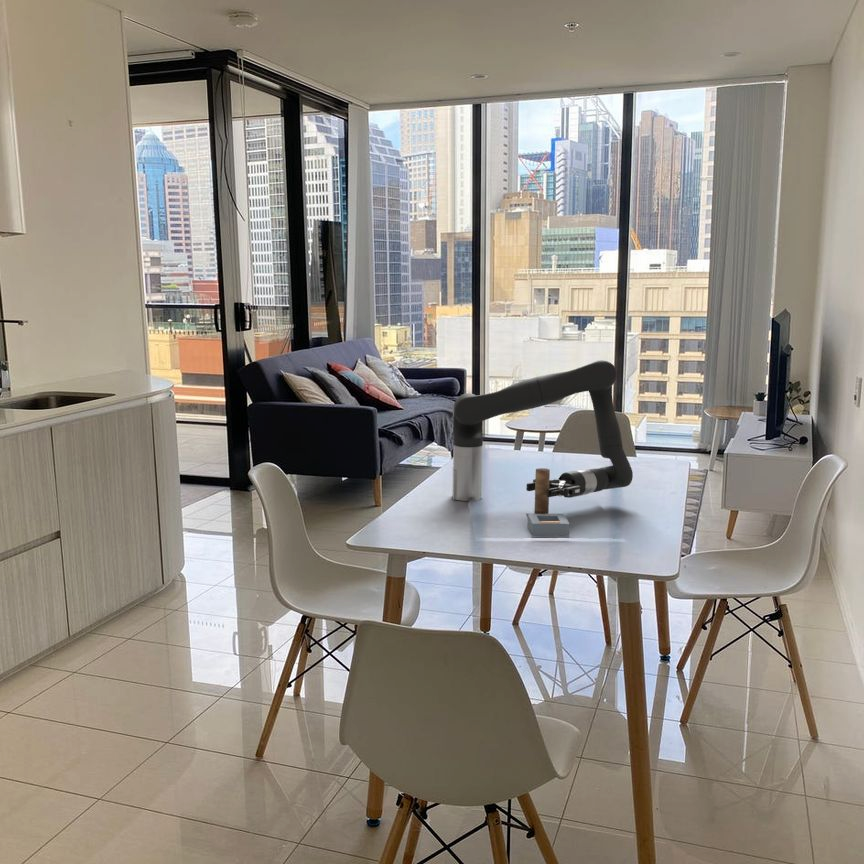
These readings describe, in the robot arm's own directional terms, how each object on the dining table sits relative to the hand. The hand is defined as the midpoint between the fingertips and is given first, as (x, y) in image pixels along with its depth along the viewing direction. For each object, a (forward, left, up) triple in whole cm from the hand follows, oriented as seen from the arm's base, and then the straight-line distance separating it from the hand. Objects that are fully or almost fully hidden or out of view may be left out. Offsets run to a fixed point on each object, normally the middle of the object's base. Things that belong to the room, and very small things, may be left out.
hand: (537, 490), depth 246 cm
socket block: (+2, -12, -9) cm, 15 cm away
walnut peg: (+2, +1, -8) cm, 8 cm away
